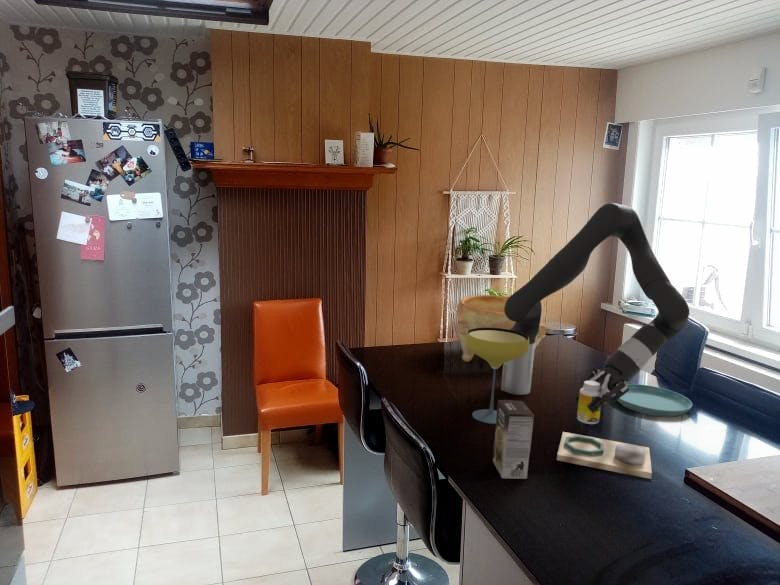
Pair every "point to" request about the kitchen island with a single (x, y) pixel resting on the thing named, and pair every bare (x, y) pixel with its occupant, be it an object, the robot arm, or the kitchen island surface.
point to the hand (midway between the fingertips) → (583, 405)
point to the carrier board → (605, 455)
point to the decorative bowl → (484, 318)
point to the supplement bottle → (588, 402)
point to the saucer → (654, 401)
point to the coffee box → (512, 439)
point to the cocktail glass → (495, 356)
